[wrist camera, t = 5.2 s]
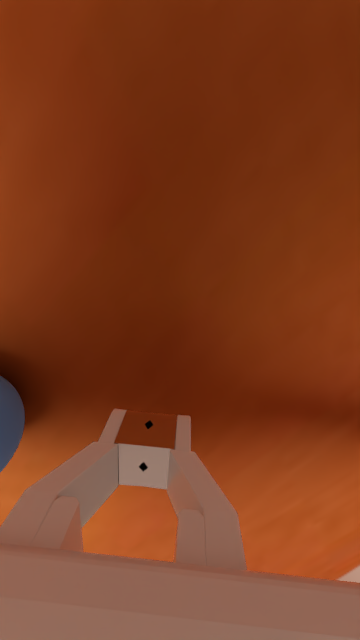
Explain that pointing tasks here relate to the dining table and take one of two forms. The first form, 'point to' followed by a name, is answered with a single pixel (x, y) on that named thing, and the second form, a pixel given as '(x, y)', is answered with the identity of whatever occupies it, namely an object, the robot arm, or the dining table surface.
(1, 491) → the dining table surface
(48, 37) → the dining table surface
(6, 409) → the ball
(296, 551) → the dining table surface
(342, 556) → the dining table surface
